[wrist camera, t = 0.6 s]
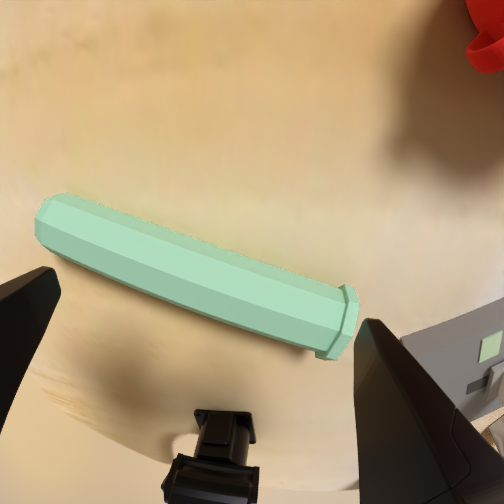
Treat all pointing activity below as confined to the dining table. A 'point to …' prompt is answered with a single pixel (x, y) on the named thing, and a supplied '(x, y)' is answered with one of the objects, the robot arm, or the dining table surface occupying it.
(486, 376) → the panel
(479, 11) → the ceramic cup
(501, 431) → the coffee box
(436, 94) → the dining table surface
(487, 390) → the breaker handle
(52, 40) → the dining table surface
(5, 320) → the robot arm
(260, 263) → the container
